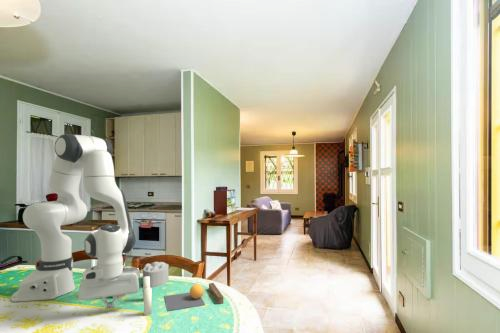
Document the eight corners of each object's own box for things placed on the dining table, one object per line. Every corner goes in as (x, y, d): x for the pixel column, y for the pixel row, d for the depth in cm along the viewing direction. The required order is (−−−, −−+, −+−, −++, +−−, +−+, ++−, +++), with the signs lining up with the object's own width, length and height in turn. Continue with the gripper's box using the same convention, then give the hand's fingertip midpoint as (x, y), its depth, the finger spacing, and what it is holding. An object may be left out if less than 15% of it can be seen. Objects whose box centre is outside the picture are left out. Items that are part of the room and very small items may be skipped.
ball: (203, 301, 119) (189, 300, 117) (200, 297, 125) (187, 295, 123) (206, 286, 120) (193, 285, 118) (203, 283, 126) (190, 281, 124)
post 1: (143, 301, 118) (143, 278, 119) (142, 299, 121) (143, 276, 121) (150, 300, 119) (150, 277, 120) (149, 298, 122) (149, 275, 122)
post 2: (144, 315, 107) (144, 290, 107) (143, 312, 109) (144, 287, 109) (151, 314, 108) (151, 289, 108) (151, 311, 110) (151, 286, 110)
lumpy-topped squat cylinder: (170, 278, 145) (171, 260, 145) (159, 288, 132) (159, 268, 132) (150, 277, 146) (150, 259, 146) (137, 287, 133) (137, 268, 133)
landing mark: (167, 311, 110) (167, 310, 110) (164, 296, 123) (164, 296, 123) (205, 305, 115) (205, 304, 115) (198, 291, 128) (198, 291, 128)
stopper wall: (218, 304, 116) (218, 297, 116) (208, 289, 131) (208, 283, 131) (223, 303, 117) (223, 296, 117) (213, 288, 132) (213, 282, 132)
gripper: (139, 264, 117) (139, 299, 116) (80, 270, 109) (79, 308, 109) (140, 269, 111) (140, 306, 110) (77, 276, 103) (76, 316, 103)
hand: (109, 307), depth 109 cm, fingers closed
